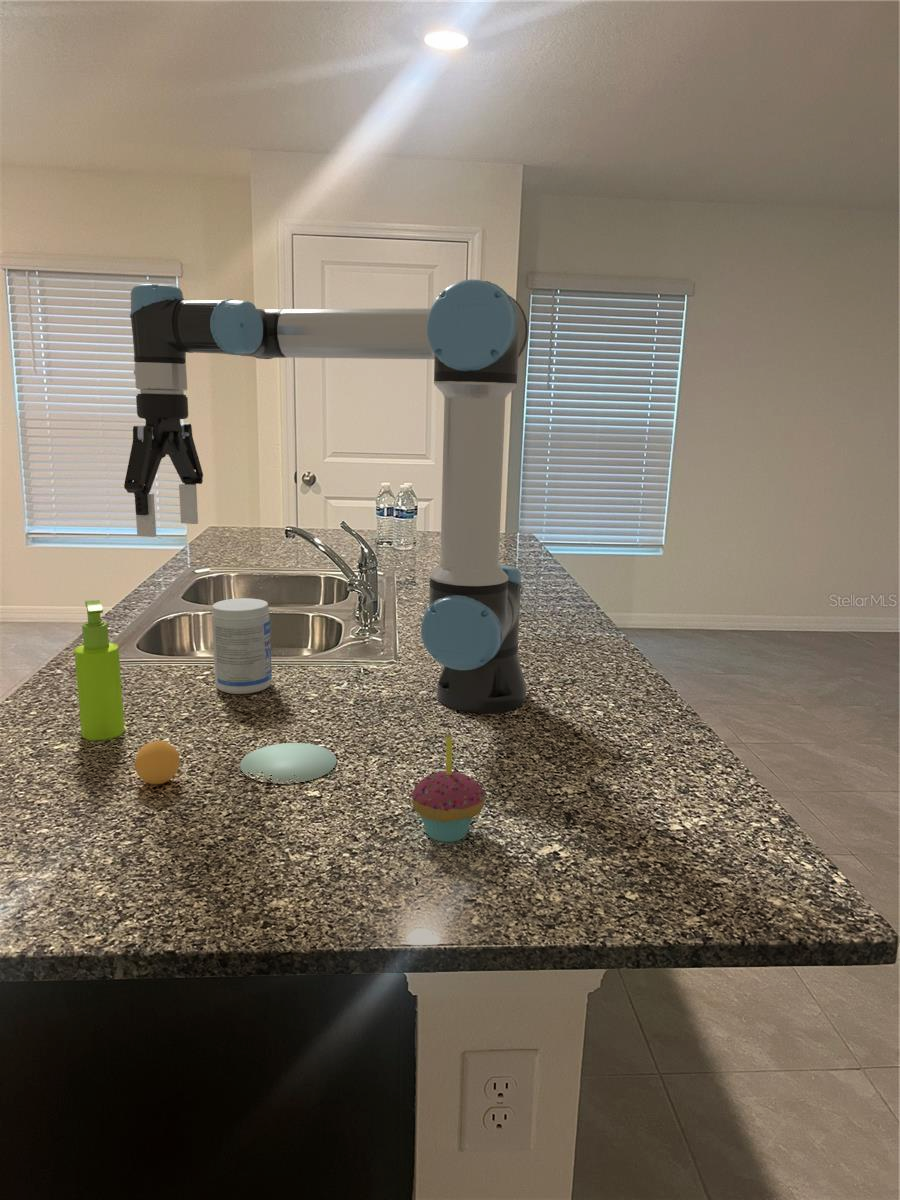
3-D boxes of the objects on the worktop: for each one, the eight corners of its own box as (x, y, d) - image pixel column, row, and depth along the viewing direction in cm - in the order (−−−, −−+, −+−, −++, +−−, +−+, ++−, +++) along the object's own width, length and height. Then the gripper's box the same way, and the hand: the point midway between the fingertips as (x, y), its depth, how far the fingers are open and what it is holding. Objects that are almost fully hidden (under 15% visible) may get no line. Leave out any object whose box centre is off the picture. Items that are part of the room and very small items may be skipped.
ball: (189, 777, 110) (187, 738, 108) (160, 795, 105) (158, 754, 103) (156, 769, 112) (154, 731, 110) (126, 786, 107) (123, 746, 105)
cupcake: (410, 815, 101) (411, 723, 99) (479, 813, 102) (482, 722, 99) (413, 852, 93) (414, 753, 90) (488, 851, 94) (492, 752, 91)
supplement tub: (280, 690, 143) (278, 607, 139) (226, 699, 138) (222, 613, 134) (259, 674, 151) (257, 595, 147) (207, 682, 145) (203, 600, 142)
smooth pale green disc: (353, 754, 118) (353, 752, 118) (304, 792, 106) (304, 790, 106) (275, 738, 123) (275, 736, 123) (220, 773, 111) (220, 771, 111)
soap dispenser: (83, 745, 119) (72, 609, 114) (80, 728, 124) (68, 598, 120) (127, 739, 121) (118, 605, 116) (121, 722, 127) (112, 595, 122)
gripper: (178, 392, 141) (184, 517, 146) (91, 391, 117) (102, 540, 122) (220, 393, 139) (225, 519, 144) (141, 392, 115) (150, 543, 120)
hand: (169, 529), depth 133 cm, fingers open, 13 cm apart
